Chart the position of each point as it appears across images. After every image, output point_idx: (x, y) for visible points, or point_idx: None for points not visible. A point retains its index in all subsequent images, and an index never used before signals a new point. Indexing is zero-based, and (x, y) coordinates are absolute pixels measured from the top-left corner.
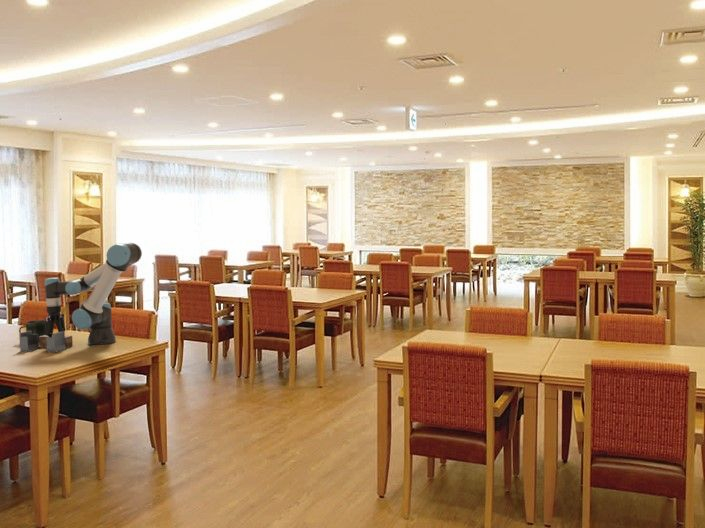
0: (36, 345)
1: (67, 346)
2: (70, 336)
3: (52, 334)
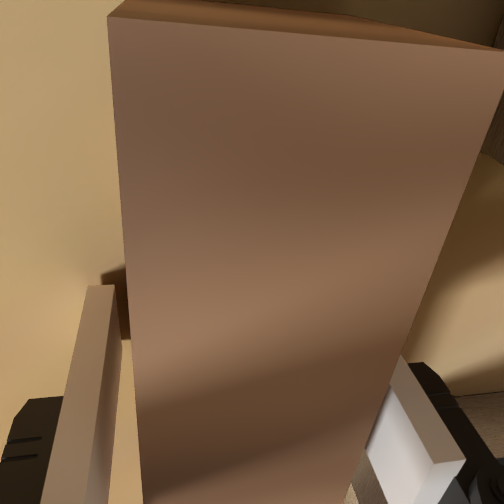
0: None
1: (337, 15)
2: (240, 28)
3: (488, 498)
